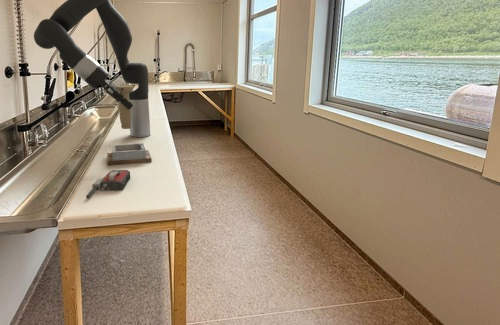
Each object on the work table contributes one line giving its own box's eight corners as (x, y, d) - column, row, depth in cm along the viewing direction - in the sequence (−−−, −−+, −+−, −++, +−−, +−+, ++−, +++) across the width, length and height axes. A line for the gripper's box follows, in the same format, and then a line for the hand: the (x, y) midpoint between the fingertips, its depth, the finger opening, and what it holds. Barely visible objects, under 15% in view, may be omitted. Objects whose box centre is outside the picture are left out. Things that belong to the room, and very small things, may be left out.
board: (107, 156, 143) (107, 152, 143) (148, 153, 148) (148, 150, 147) (107, 165, 132) (107, 161, 132) (151, 162, 137) (151, 158, 137)
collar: (112, 152, 143) (111, 145, 142) (143, 150, 147) (143, 143, 146) (112, 160, 133) (112, 152, 132) (146, 158, 136) (145, 150, 135)
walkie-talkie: (104, 178, 121) (84, 202, 102) (102, 165, 119) (82, 186, 100) (132, 177, 121) (117, 201, 102) (131, 164, 120) (116, 186, 101)
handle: (134, 129, 135) (131, 87, 130) (115, 129, 134) (112, 86, 130) (136, 127, 139) (134, 85, 135) (118, 127, 139) (115, 85, 134)
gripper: (98, 64, 121) (139, 101, 129) (99, 63, 134) (136, 97, 142) (81, 81, 121) (124, 117, 129) (84, 78, 134) (123, 111, 141)
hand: (130, 106), depth 135 cm, fingers closed on handle, 3 cm apart
